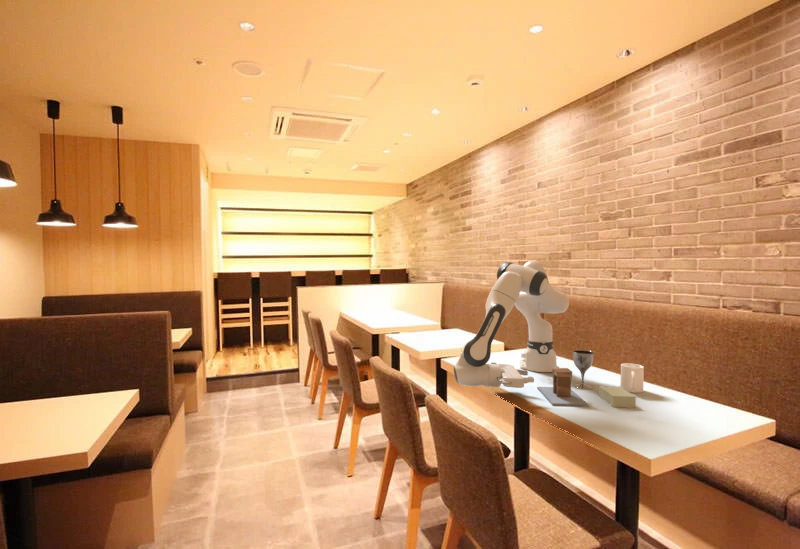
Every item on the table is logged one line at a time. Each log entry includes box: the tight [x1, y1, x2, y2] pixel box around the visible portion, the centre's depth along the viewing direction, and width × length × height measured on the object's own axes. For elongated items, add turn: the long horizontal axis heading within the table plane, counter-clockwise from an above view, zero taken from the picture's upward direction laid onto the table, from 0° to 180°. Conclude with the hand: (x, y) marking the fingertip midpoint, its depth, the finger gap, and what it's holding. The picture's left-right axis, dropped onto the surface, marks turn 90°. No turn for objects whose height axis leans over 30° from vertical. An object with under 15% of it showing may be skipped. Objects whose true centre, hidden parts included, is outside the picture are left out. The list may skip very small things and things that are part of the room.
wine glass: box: [572, 349, 594, 390], centre depth 172 cm, size 8×8×15 cm
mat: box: [537, 386, 589, 407], centre depth 159 cm, size 20×13×1 cm, turn 176°
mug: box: [619, 362, 645, 394], centre depth 166 cm, size 12×8×10 cm
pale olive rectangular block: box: [598, 385, 637, 408], centre depth 154 cm, size 12×8×4 cm, turn 176°
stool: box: [551, 367, 573, 397], centre depth 159 cm, size 6×11×11 cm
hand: (530, 376), depth 160 cm, fingers open, 8 cm apart
